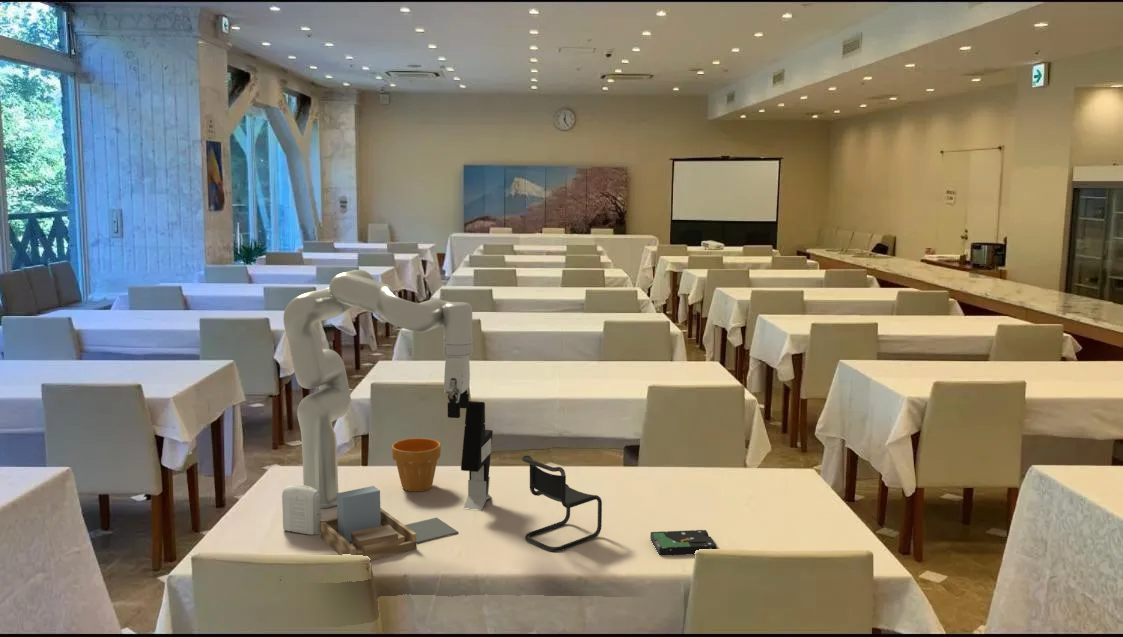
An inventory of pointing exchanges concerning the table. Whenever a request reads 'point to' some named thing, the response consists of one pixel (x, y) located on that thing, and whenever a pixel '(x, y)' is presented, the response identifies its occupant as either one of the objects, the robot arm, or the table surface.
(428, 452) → the flower pot
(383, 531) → the offcut stack
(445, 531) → the mat
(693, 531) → the disk drive
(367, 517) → the rectangular block
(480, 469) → the award
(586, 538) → the chair
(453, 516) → the table surface
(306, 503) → the white rounded tombstone
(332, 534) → the wooden frame
